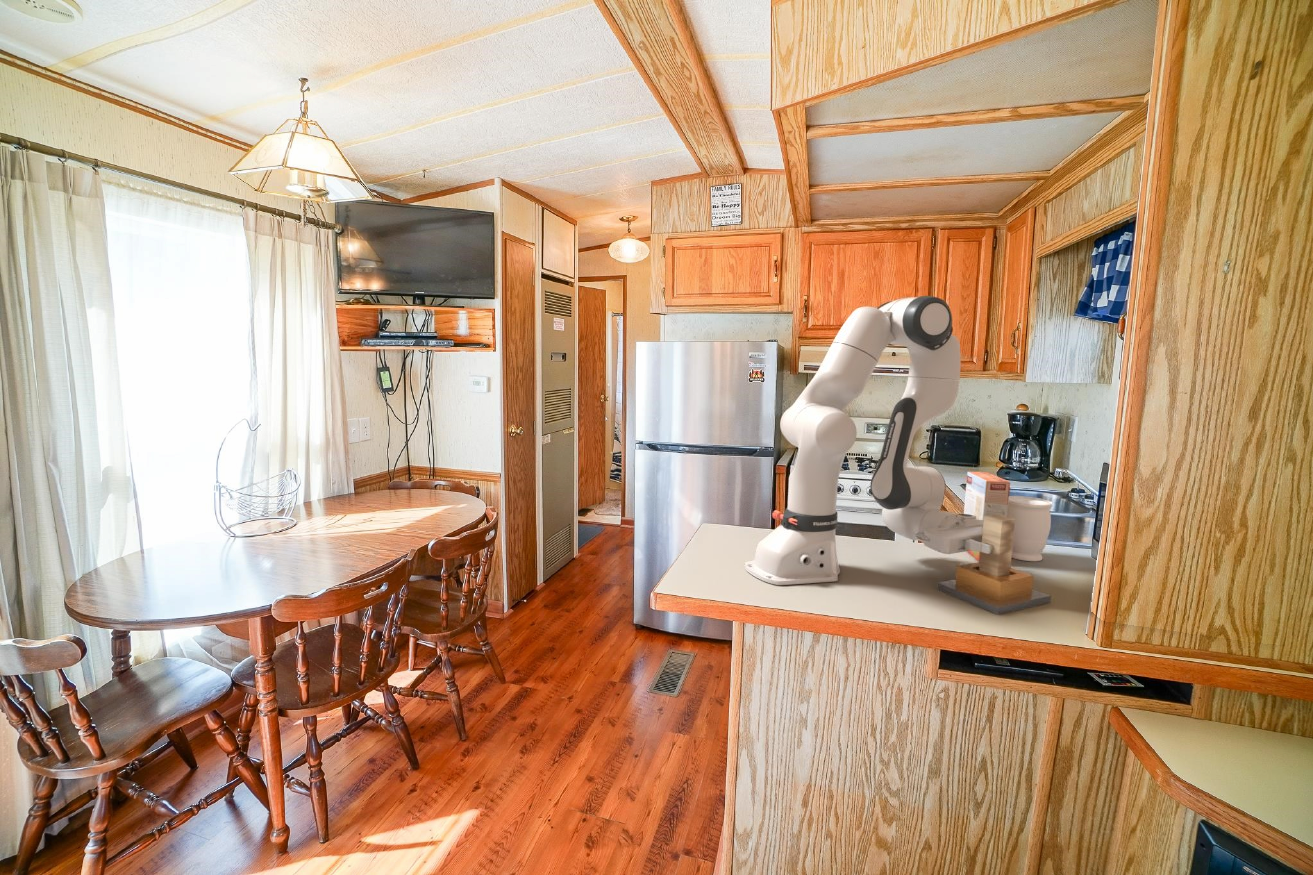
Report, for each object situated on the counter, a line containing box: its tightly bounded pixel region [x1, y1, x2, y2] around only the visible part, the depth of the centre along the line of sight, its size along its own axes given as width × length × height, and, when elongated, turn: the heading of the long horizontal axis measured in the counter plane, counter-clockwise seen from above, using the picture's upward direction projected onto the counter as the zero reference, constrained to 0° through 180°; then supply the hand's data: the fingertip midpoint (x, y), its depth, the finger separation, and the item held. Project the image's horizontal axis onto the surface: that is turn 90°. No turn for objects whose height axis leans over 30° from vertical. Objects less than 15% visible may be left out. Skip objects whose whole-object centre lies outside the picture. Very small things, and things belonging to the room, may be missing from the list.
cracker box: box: [963, 471, 1011, 562], centre depth 148 cm, size 14×6×21 cm, turn 168°
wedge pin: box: [979, 515, 1015, 577], centre depth 121 cm, size 4×4×14 cm
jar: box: [1007, 495, 1053, 562], centre depth 147 cm, size 11×10×15 cm
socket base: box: [936, 561, 1052, 615], centre depth 122 cm, size 16×14×6 cm
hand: (1000, 548), depth 120 cm, fingers closed on wedge pin, 4 cm apart
